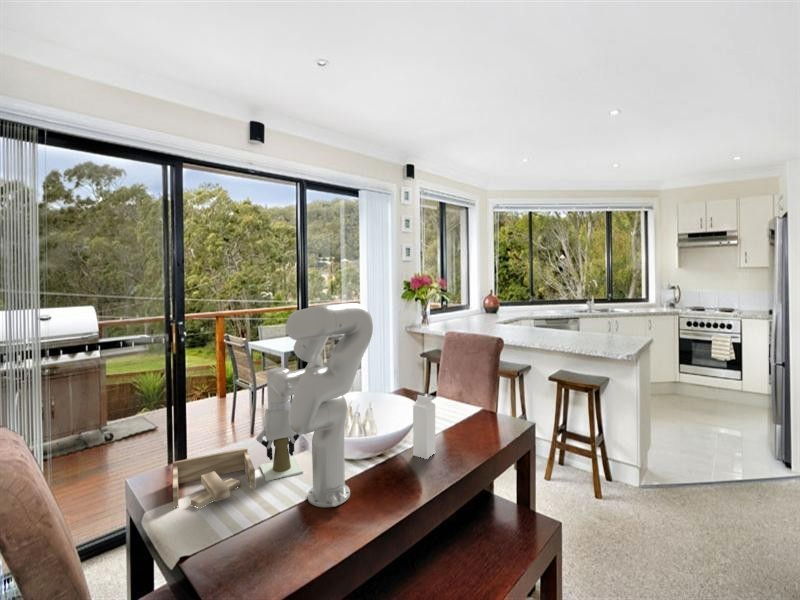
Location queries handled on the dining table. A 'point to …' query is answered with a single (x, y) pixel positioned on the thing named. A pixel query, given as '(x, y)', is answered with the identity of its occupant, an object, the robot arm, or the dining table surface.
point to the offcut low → (207, 498)
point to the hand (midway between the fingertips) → (280, 455)
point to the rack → (212, 467)
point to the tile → (271, 474)
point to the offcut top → (215, 486)
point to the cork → (281, 455)
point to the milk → (423, 427)
